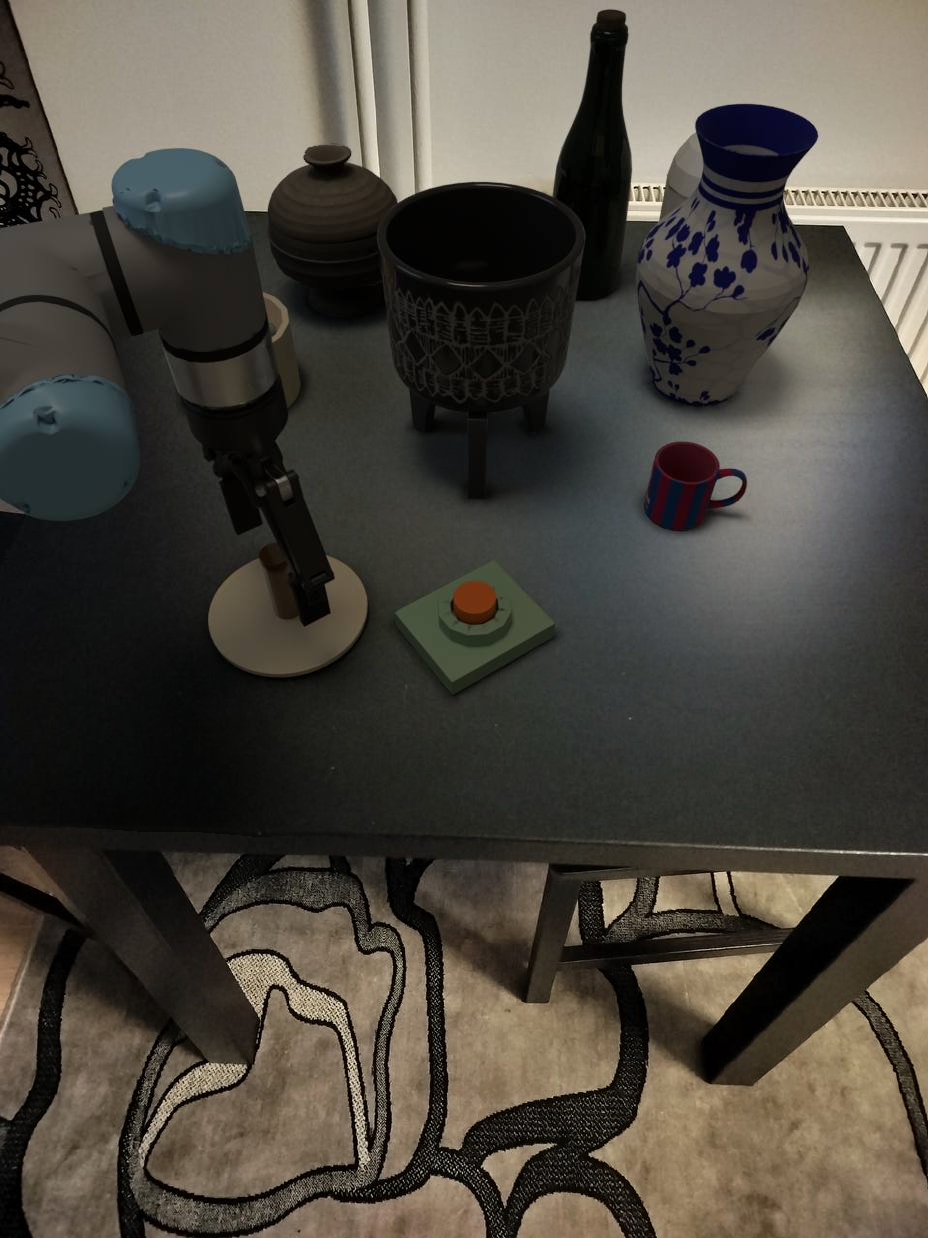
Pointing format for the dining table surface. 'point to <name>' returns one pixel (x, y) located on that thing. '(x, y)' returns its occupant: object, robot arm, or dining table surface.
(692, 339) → the vase
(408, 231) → the planter
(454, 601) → the button
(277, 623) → the lid
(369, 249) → the pot
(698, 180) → the container
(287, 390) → the canister
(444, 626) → the block
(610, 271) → the wine bottle
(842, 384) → the dining table surface
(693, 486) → the cup
